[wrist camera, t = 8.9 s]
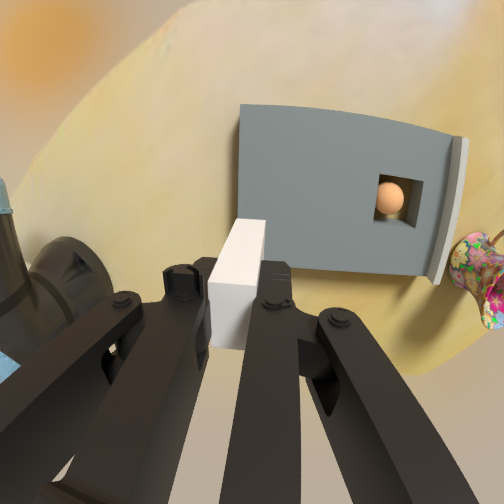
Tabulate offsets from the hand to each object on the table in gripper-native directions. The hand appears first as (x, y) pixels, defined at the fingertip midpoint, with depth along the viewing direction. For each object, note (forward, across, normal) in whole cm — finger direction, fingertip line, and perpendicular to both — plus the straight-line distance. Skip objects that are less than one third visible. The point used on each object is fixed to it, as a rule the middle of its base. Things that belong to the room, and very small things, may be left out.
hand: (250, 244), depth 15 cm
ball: (+17, +13, 0) cm, 21 cm away
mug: (+17, +30, -5) cm, 35 cm away
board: (+17, +10, 0) cm, 20 cm away
